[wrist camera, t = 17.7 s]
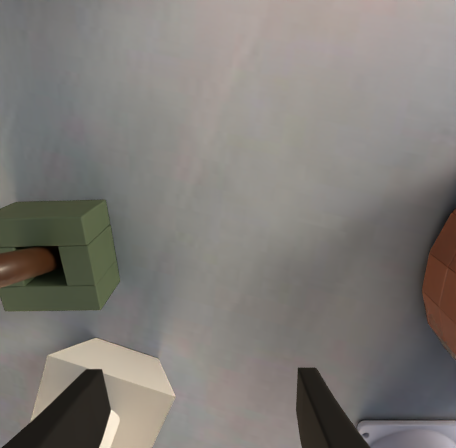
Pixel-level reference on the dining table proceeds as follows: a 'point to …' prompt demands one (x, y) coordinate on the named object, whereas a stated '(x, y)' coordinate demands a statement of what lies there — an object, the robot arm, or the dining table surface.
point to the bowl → (442, 286)
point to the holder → (61, 254)
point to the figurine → (114, 389)
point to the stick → (28, 263)
